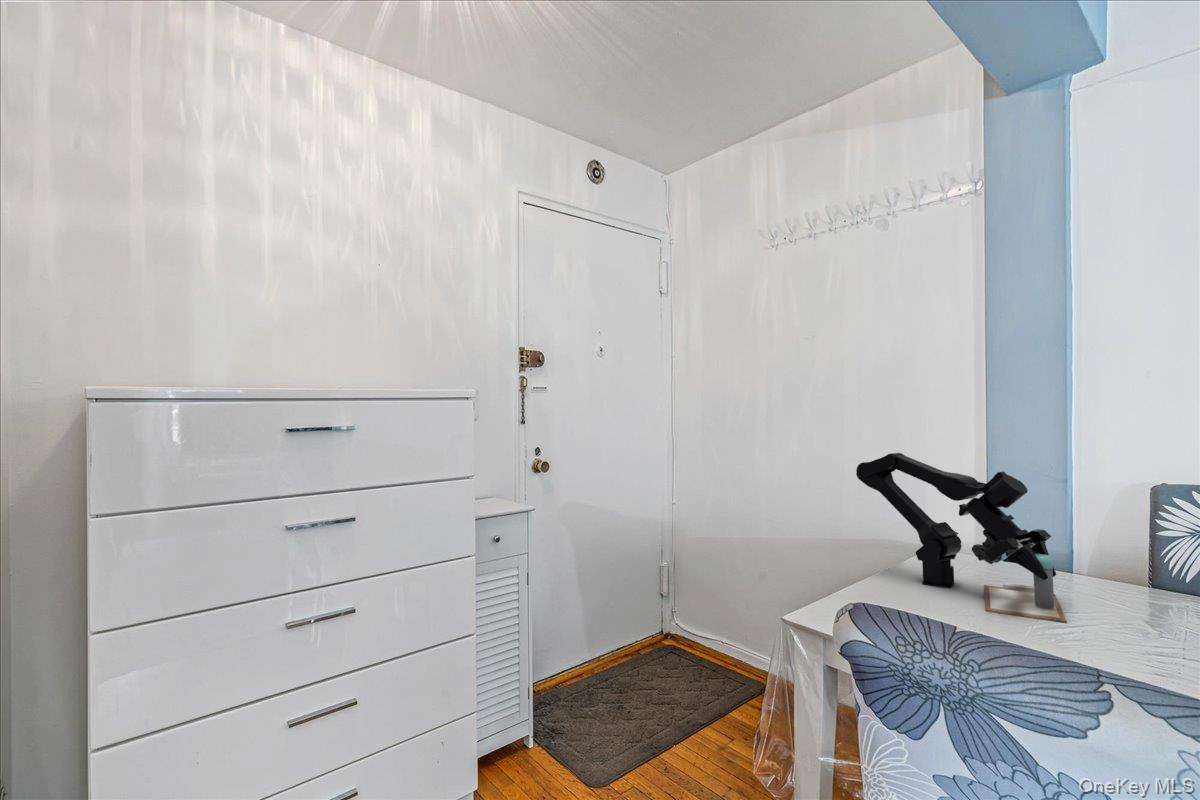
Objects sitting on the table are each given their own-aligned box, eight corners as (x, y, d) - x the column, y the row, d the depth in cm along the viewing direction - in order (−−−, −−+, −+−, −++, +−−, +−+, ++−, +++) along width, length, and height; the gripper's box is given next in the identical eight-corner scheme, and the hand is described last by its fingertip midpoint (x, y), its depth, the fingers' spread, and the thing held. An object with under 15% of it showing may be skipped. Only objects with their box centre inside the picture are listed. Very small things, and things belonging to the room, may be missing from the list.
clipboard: (985, 611, 122) (985, 603, 122) (983, 586, 139) (983, 580, 139) (1066, 623, 114) (1066, 615, 114) (1055, 595, 131) (1054, 588, 131)
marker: (1035, 606, 122) (1032, 556, 122) (1033, 601, 124) (1031, 553, 125) (1055, 609, 120) (1053, 558, 120) (1053, 604, 122) (1051, 555, 123)
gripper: (988, 534, 140) (1041, 589, 130) (947, 544, 131) (1000, 603, 121) (1022, 507, 133) (1081, 563, 124) (981, 516, 125) (1041, 577, 115)
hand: (1050, 577), depth 121 cm, fingers closed on marker, 3 cm apart
